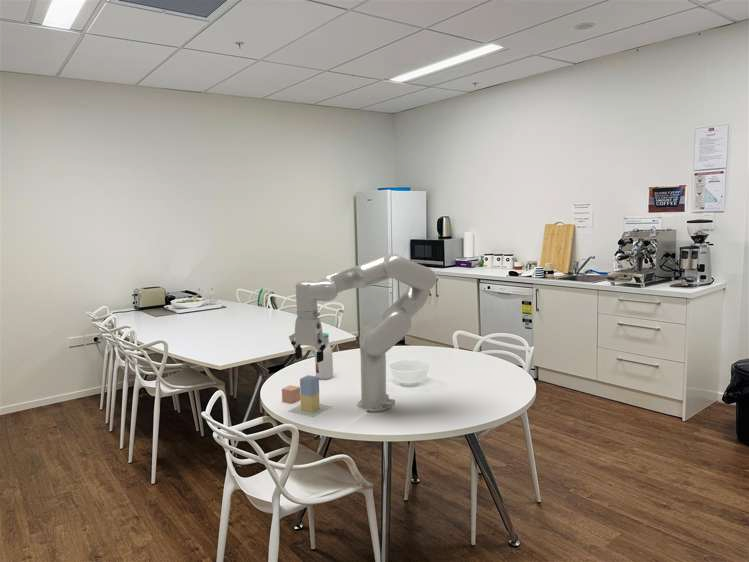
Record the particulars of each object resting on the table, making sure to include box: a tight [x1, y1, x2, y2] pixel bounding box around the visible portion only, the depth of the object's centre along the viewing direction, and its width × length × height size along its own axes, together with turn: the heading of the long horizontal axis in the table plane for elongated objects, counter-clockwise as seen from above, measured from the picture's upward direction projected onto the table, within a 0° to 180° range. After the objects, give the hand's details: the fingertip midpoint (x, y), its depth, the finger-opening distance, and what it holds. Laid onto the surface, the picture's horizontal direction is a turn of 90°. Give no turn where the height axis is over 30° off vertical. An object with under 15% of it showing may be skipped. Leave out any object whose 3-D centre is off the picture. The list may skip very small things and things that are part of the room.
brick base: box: [299, 392, 320, 412], centre depth 204 cm, size 5×5×6 cm
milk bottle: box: [314, 332, 334, 380], centre depth 245 cm, size 8×8×20 cm
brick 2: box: [299, 374, 320, 396], centre depth 203 cm, size 5×5×6 cm
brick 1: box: [281, 385, 301, 405], centre depth 214 cm, size 5×5×6 cm
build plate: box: [287, 403, 333, 418], centre depth 205 cm, size 12×12×1 cm
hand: (309, 360), depth 202 cm, fingers open, 9 cm apart
